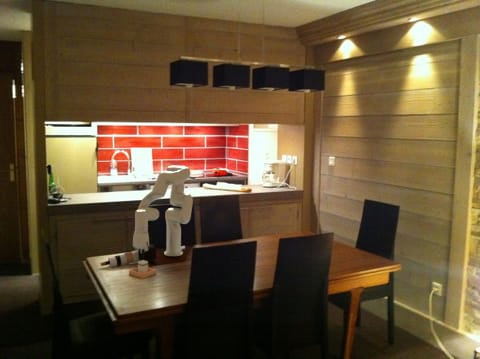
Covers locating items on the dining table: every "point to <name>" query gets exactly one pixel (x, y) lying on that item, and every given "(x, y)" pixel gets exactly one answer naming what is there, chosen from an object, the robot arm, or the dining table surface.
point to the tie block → (142, 266)
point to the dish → (135, 273)
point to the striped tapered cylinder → (131, 257)
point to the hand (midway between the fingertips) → (141, 258)
